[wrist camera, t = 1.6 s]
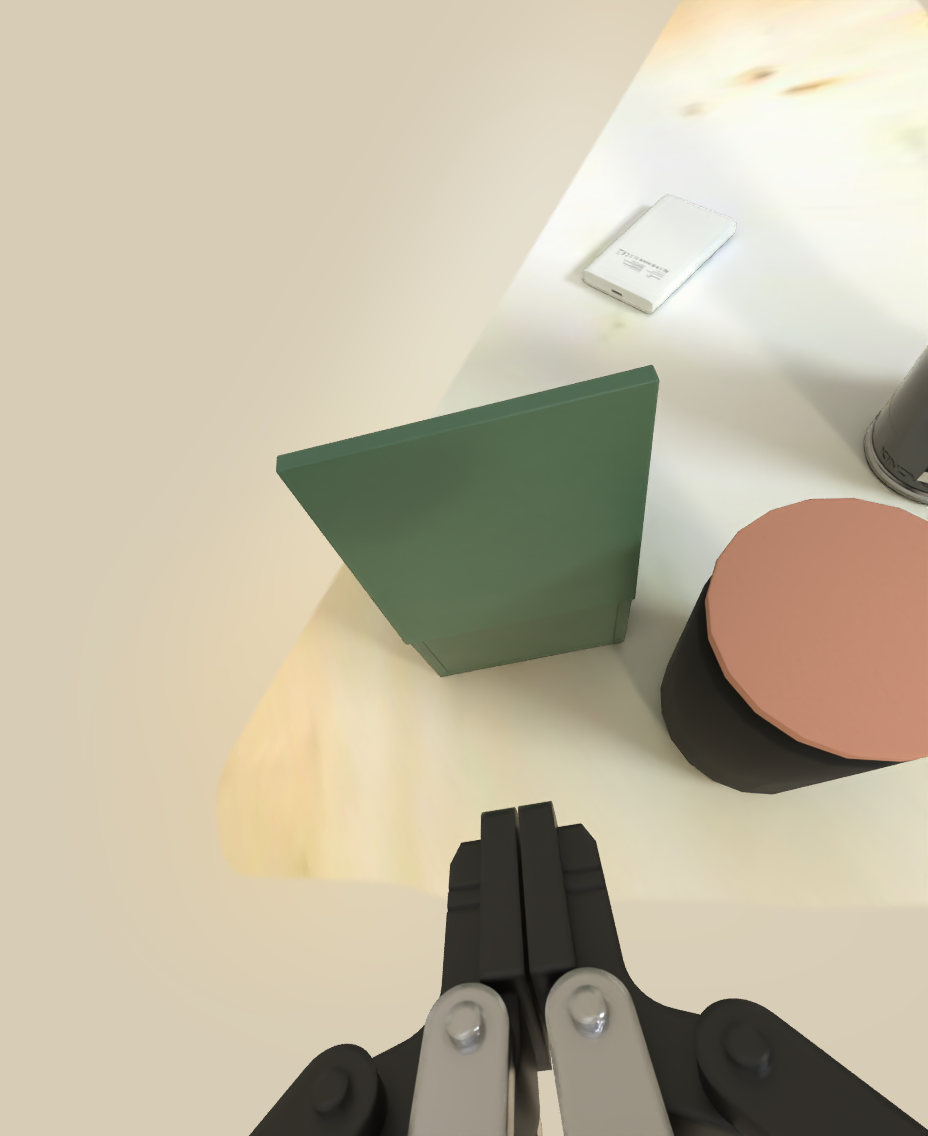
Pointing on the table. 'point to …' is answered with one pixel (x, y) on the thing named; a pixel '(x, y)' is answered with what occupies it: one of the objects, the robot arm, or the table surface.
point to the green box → (527, 639)
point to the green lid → (491, 506)
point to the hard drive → (659, 252)
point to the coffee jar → (806, 649)
